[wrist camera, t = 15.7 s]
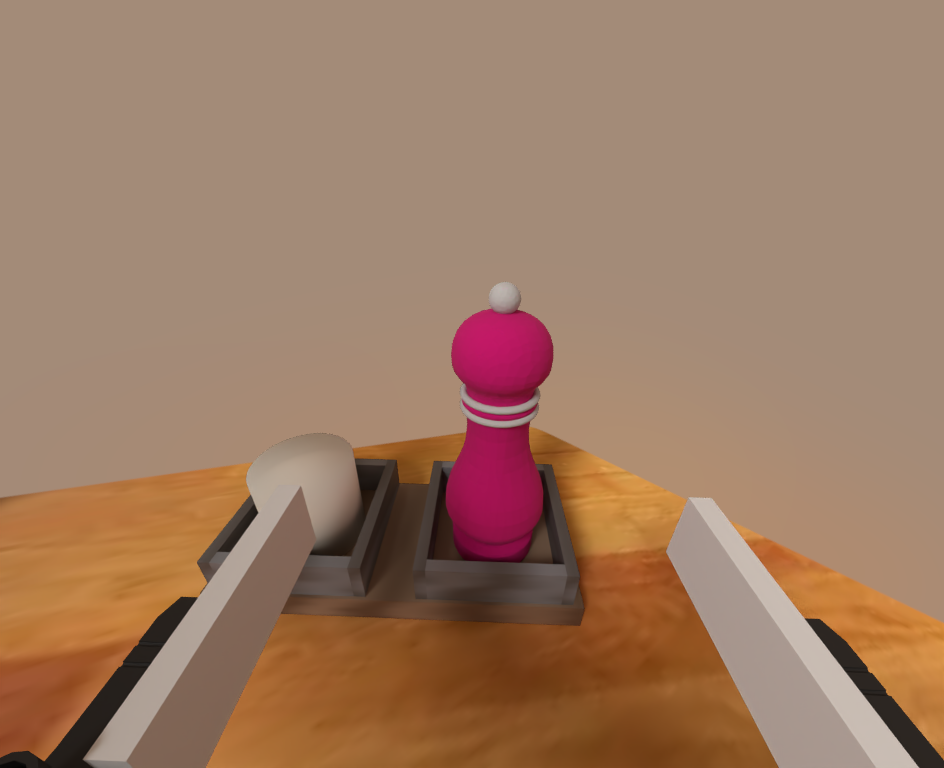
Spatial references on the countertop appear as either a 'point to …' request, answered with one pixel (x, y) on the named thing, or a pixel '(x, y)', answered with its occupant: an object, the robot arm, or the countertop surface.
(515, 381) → the pepper mill
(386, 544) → the two-compartment tray
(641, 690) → the countertop surface
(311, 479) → the white glossy dome
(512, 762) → the countertop surface
